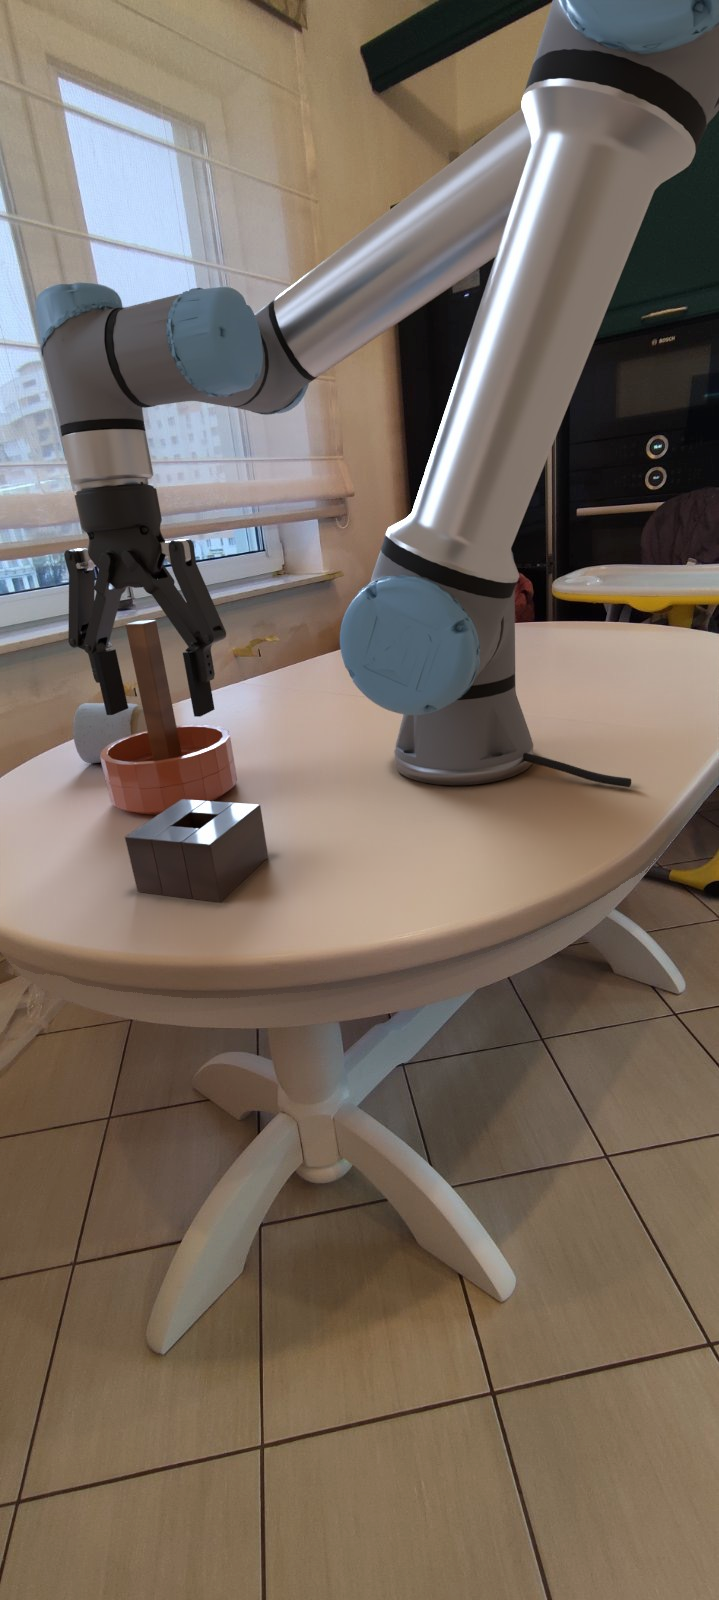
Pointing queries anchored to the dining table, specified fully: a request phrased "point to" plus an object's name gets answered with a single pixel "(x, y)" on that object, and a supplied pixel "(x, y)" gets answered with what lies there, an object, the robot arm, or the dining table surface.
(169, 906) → the dining table surface
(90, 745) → the ceramic mug
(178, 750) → the stick
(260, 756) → the dining table surface
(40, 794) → the dining table surface
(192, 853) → the holder
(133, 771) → the bowl
